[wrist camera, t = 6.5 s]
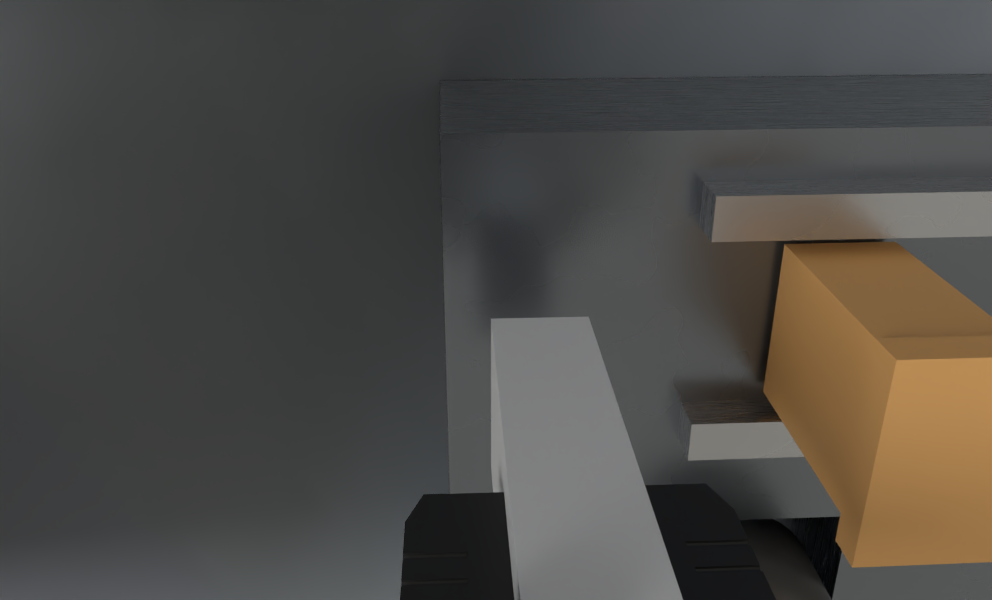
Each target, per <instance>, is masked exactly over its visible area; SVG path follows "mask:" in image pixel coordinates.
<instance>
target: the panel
mask: <svg viewBox="0 0 992 600" xmlns="http://www.w3.org/2000/svg"><path fill="white" fill-rule="evenodd" d="M440 165H441V201H442V238H443V274H444V310H445V346H446V382H447V418H448V454H449V490H450V494H458V493H491V492H493V485H492V472H491V319H498V318H546V317H589V319H590V322H591V325H592V328H593V331H594V334H595V337H596V340H597V343H598V346H599V349H600V352H601V355H602V358H603V361H604V364H605V367H606V370H607V373H608V376H609V379H610V382H611V385H612V388H613V391H614V394H615V397H616V400H617V403H618V406H619V409H620V412H621V415H622V418H623V421H624V424H625V427H626V430H627V433H628V436H629V439H630V442H631V445H632V448H633V451H634V454H635V457H636V460H637V463H638V466H639V469H640V472H641V475H642V478H643V481H644V484H645V485H667V484H700V483H706V484H707V485H708V486H709V487H710V488H711V489H712V490H713V491H715V492H716V493H717V494H718V495H719V496H720V497H721V498H722V499H723V500H725V501H726V502H727V503H728V504H729V505H730V506H731V507H732V508H733V509H734V510H735V512H736V515H737V517H738V519H739V520H756V519H775V520H776V521H778V522H780V523H782V524H783V525H784V526H786V527H787V528H788V529H790V530H791V532H792V533H793V534H794V535H795V536H796V537H797V538H798V540H799V541H800V543H801V545H802V546H803V548H804V550H805V552H806V554H807V555H808V557H809V559H810V561H811V563H812V565H813V566H814V568H815V570H816V572H817V574H818V576H819V577H820V579H821V581H822V583H823V585H824V587H825V588H826V590H827V592H828V594H829V596H830V597H831V599H832V600H992V562H983V563H957V564H932V565H907V566H881V567H856V568H852V567H851V565H850V563H849V562H848V560H847V558H846V557H845V555H844V553H843V552H842V550H841V549H840V547H839V545H838V544H837V542H836V540H835V539H836V534H837V529H838V524H839V519H840V514H841V513H840V511H839V510H838V508H837V507H836V505H835V504H834V502H833V500H832V499H831V497H830V496H829V494H828V493H827V491H826V489H825V488H824V486H823V485H822V483H821V482H820V480H819V478H818V477H817V475H816V474H815V472H814V471H813V469H812V467H811V466H810V464H809V463H808V461H807V460H806V458H805V456H804V455H803V453H802V452H801V450H800V449H799V447H798V446H797V444H796V442H795V441H794V439H793V438H792V436H791V435H790V433H789V431H788V430H787V428H786V427H785V425H784V424H783V422H782V420H781V419H780V417H779V416H778V414H777V413H776V411H775V409H774V408H773V406H772V405H771V403H770V402H769V400H768V398H767V397H766V395H765V394H764V392H763V389H764V382H765V375H766V368H767V361H768V354H769V347H770V340H771V333H772V327H773V320H774V313H775V306H776V299H777V292H778V285H779V278H780V271H781V265H782V258H783V251H784V244H811V243H859V242H896V243H898V244H899V245H900V246H902V247H903V248H904V249H905V250H907V251H908V252H909V253H911V254H912V255H913V256H914V257H916V258H917V259H918V260H920V261H921V262H922V263H923V264H925V265H926V266H927V267H929V268H930V269H931V270H932V271H934V272H935V273H936V274H937V275H939V276H940V277H941V278H943V279H944V280H945V281H946V282H948V283H949V284H950V285H952V286H953V287H954V288H955V289H957V290H958V291H959V292H961V293H962V294H963V295H964V296H966V297H967V298H968V299H970V300H971V301H972V302H973V303H975V304H976V305H977V306H978V307H980V308H981V309H982V310H984V311H985V312H986V313H987V314H989V315H990V316H991V317H992V74H967V75H880V76H793V77H705V78H618V79H531V80H444V81H440Z"/></svg>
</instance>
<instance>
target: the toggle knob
mask: <svg viewBox="0 0 992 600" xmlns="http://www.w3.org/2000/svg"><path fill="white" fill-rule="evenodd" d="M763 392H764V394H765V395H766V397H767V398H768V400H769V402H770V403H771V405H772V406H773V408H774V409H775V411H776V413H777V414H778V416H779V417H780V419H781V420H782V422H783V424H784V425H785V427H786V428H787V430H788V431H789V433H790V435H791V436H792V438H793V439H794V441H795V442H796V444H797V446H798V447H799V449H800V450H801V452H802V453H803V455H804V456H805V458H806V460H807V461H808V463H809V464H810V466H811V467H812V469H813V471H814V472H815V474H816V475H817V477H818V478H819V480H820V482H821V483H822V485H823V486H824V488H825V489H826V491H827V493H828V494H829V496H830V497H831V499H832V500H833V502H834V504H835V505H836V507H837V508H838V510H839V511H840V513H841V514H840V519H839V524H838V529H837V534H836V539H835V540H836V542H837V544H838V545H839V547H840V549H841V550H842V552H843V553H844V555H845V557H846V558H847V560H848V562H849V563H850V565H851V567H852V568H856V567H881V566H907V565H932V564H957V563H983V562H992V317H991V316H990V315H989V314H987V313H986V312H985V311H984V310H982V309H981V308H980V307H978V306H977V305H976V304H975V303H973V302H972V301H971V300H970V299H968V298H967V297H966V296H964V295H963V294H962V293H961V292H959V291H958V290H957V289H955V288H954V287H953V286H952V285H950V284H949V283H948V282H946V281H945V280H944V279H943V278H941V277H940V276H939V275H937V274H936V273H935V272H934V271H932V270H931V269H930V268H929V267H927V266H926V265H925V264H923V263H922V262H921V261H920V260H918V259H917V258H916V257H914V256H913V255H912V254H911V253H909V252H908V251H907V250H905V249H904V248H903V247H902V246H900V245H899V244H898V243H896V242H859V243H811V244H784V251H783V258H782V265H781V271H780V278H779V285H778V292H777V299H776V306H775V313H774V320H773V327H772V333H771V340H770V347H769V354H768V361H767V368H766V375H765V382H764V389H763Z"/></svg>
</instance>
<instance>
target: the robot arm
mask: <svg viewBox="0 0 992 600" xmlns="http://www.w3.org/2000/svg"><path fill="white" fill-rule="evenodd" d="M491 472H492V485H493V492H491V493H458V494H424V495H423V496H422V498H421V499H420V501H419V502H418V504H417V505H416V507H415V508H414V510H413V511H412V513H411V514H410V516H409V517H408V519H407V520H406V522H405V533H404V549H403V564H402V587H401V595H400V600H776V598H775V596H774V594H773V592H772V590H771V588H770V585H769V583H768V581H767V579H766V577H765V575H764V573H763V571H760V564H759V562H758V560H757V558H756V555H755V553H754V551H753V549H752V547H751V545H748V538H747V536H746V534H745V532H744V530H743V527H742V525H741V523H740V521H739V519H738V517H737V515H736V512H735V510H734V509H733V508H732V507H731V506H730V505H729V504H728V503H727V502H726V501H725V500H723V499H722V498H721V497H720V496H719V495H718V494H717V493H716V492H715V491H713V490H712V489H711V488H710V487H709V486H708V485H707V484H706V483H700V484H667V485H645V484H644V481H643V478H642V475H641V472H640V469H639V466H638V463H637V460H636V457H635V454H634V451H633V448H632V445H631V442H630V439H629V436H628V433H627V430H626V427H625V424H624V421H623V418H622V415H621V412H620V409H619V406H618V403H617V400H616V397H615V394H614V391H613V388H612V385H611V382H610V379H609V376H608V373H607V370H606V367H605V364H604V361H603V358H602V355H601V352H600V349H599V346H598V343H597V340H596V337H595V334H594V331H593V328H592V325H591V322H590V319H589V317H546V318H498V319H491Z"/></svg>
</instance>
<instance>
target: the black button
mask: <svg viewBox="0 0 992 600" xmlns="http://www.w3.org/2000/svg"><path fill="white" fill-rule="evenodd" d="M739 521H740V523H741V525H742V527H743V530H744V532H745V534H746V536H747V538H748V545H751V547H752V549H753V551H754V553H755V555H756V558H757V560H758V562H759V564H760V571H763V573H764V575H765V577H766V579H767V581H768V583H769V585H770V588H771V590H772V592H773V594H774V596H775V598H776V600H832V599H831V597H830V596H829V594H828V592H827V590H826V588H825V587H824V585H823V583H822V581H821V579H820V577H819V576H818V574H817V572H816V570H815V568H814V566H813V565H812V563H811V561H810V559H809V557H808V555H807V554H806V552H805V550H804V548H803V546H802V545H801V543H800V541H799V540H798V538H797V537H796V536H795V535H794V534H793V533H792V532H791V530H790V529H788V528H787V527H786V526H784V525H783V524H782V523H780V522H778V521H776V520H775V519H756V520H739Z"/></svg>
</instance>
